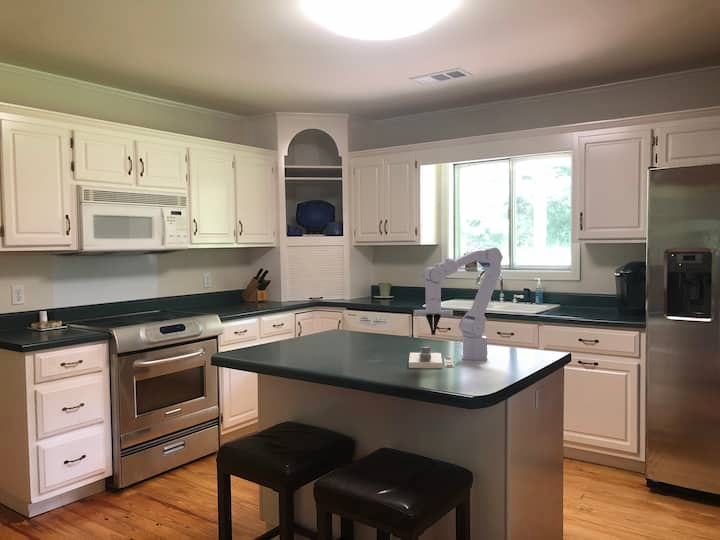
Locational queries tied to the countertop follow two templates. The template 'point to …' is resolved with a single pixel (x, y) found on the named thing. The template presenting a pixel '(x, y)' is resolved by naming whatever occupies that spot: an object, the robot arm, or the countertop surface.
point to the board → (417, 363)
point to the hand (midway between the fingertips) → (433, 334)
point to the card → (448, 362)
